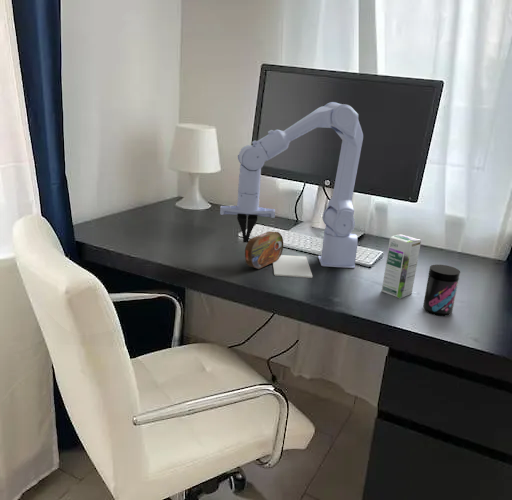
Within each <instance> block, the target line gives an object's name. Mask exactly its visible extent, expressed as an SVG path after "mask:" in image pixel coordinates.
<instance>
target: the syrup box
mask: <svg viewBox="0 0 512 500" xmlns="http://www.w3.org/2000/svg"><path fill="white" fill-rule="evenodd" d="M388 242H389V243H388V248H387V252H386V253H387V254H386V262H385V267H384V275H383V280H382V285H381V293H385V294H387V295H391V296H393V297H395V298H397V299H400V300H401V299H403V298H405V297H407V296H409V295H412V294H413V288H414V283H415V278H416V277H415V276H416V271H417V266H418V260H419V256H420V250H421V249H420V248H421V245H422V244H421V243H422V239H418V238H415V237H412V236H408V235H404V234H396V235H395V234H394V235H392V236H391V237H389V241H388Z"/></svg>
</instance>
